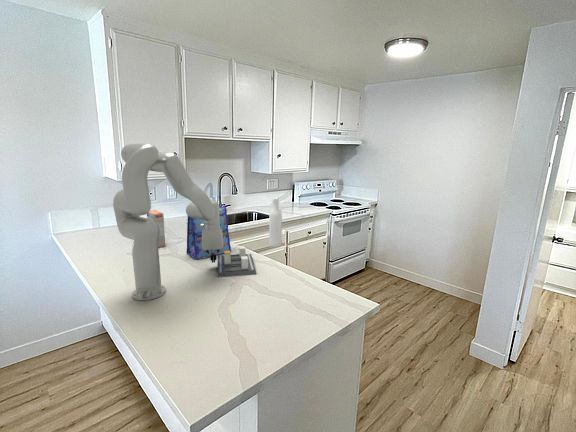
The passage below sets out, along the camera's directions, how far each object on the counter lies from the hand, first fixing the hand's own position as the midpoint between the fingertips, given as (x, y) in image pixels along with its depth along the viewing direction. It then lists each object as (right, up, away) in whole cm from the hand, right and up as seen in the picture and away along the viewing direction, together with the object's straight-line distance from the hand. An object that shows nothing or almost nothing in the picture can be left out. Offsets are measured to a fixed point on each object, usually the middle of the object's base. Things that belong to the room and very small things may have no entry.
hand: (213, 261), depth 152 cm
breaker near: (+16, -2, -4) cm, 17 cm away
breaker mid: (+7, -1, +2) cm, 7 cm away
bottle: (+30, +4, +38) cm, 48 cm away
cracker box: (-44, +5, +36) cm, 57 cm away
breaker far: (+13, +1, +11) cm, 17 cm away
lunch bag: (-8, +1, +22) cm, 23 cm away
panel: (+11, -3, +3) cm, 11 cm away
